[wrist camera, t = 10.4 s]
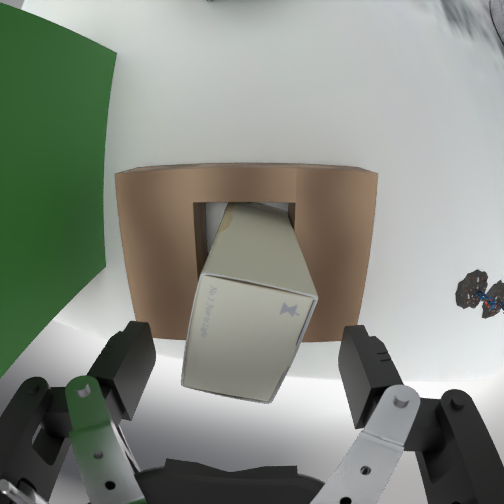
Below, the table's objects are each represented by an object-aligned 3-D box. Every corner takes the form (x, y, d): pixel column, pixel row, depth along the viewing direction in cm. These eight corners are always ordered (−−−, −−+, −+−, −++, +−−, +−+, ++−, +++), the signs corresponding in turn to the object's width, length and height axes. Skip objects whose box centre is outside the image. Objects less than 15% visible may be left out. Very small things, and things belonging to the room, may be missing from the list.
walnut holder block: (357, 167, 20) (377, 173, 16) (341, 312, 24) (353, 340, 21) (138, 167, 20) (114, 173, 17) (154, 309, 25) (139, 336, 21)
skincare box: (230, 195, 21) (196, 262, 10) (290, 211, 21) (324, 292, 10) (211, 273, 23) (175, 387, 12) (266, 286, 24) (271, 407, 12)
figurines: (513, 285, 24) (535, 303, 20) (494, 321, 25) (513, 341, 21) (468, 259, 23) (494, 278, 19) (445, 302, 24) (467, 326, 20)
